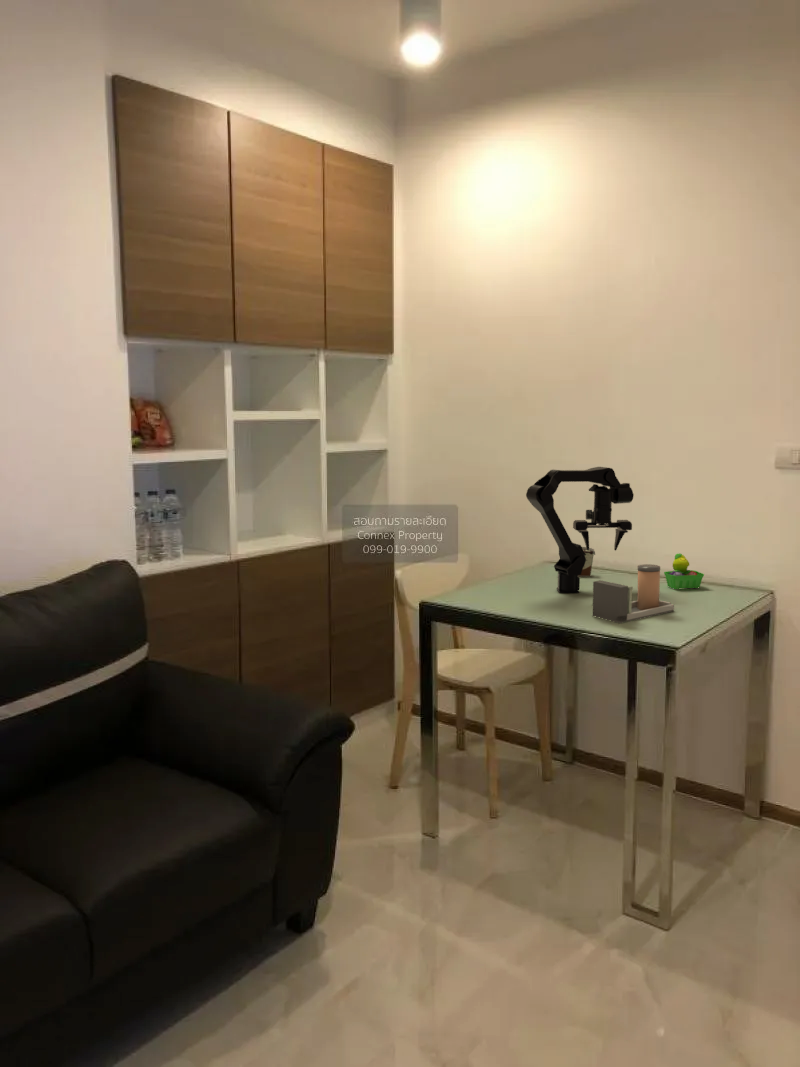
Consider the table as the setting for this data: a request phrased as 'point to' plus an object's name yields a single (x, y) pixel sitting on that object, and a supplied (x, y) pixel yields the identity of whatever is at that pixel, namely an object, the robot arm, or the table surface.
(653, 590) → the jar
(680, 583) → the fruit basket
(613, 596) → the lane
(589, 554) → the food container
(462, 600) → the table surface
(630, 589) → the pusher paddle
